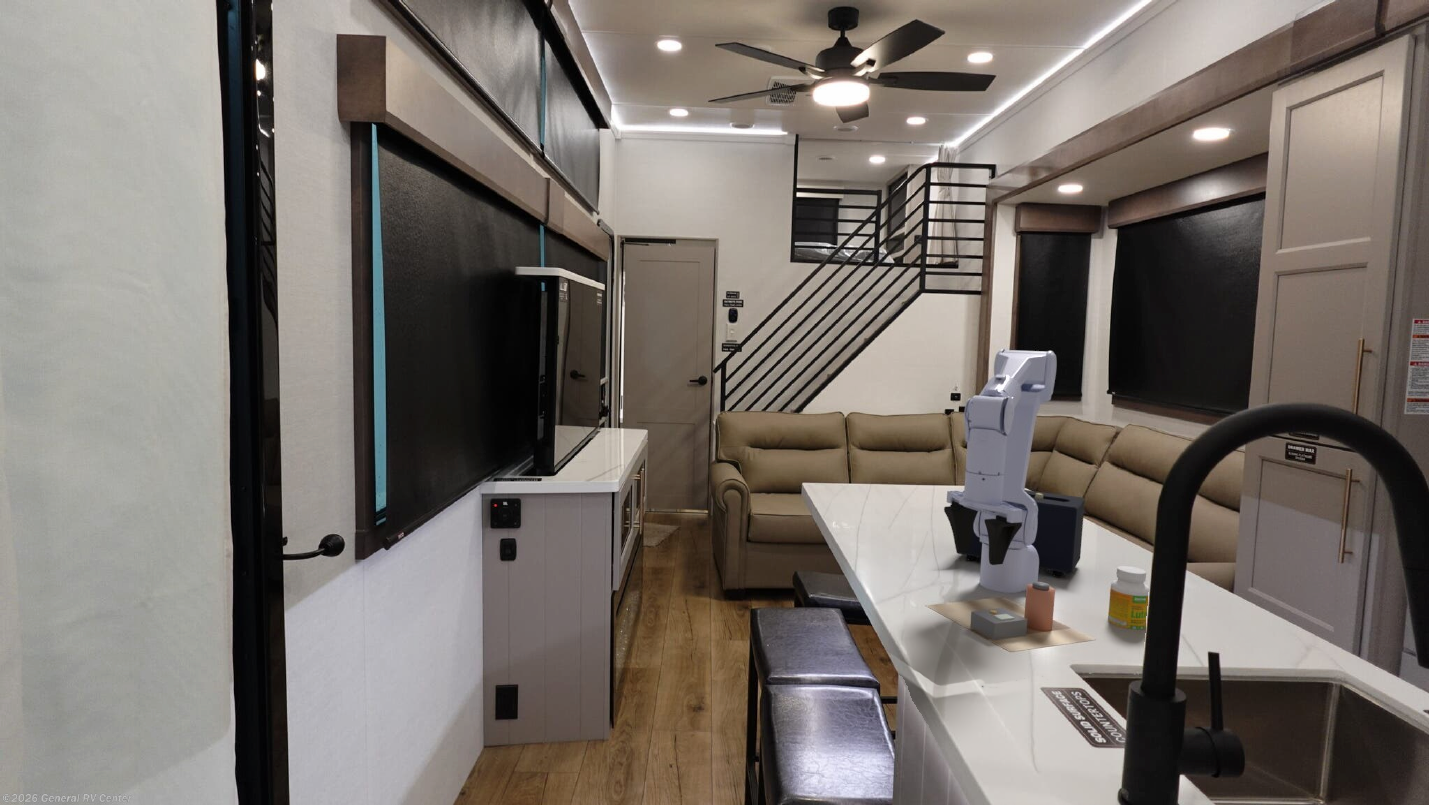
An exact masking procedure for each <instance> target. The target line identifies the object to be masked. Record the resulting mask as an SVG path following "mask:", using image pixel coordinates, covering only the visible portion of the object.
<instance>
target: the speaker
mask: <svg viewBox="0 0 1429 805" xmlns="http://www.w3.org/2000/svg"><path fill="white" fill-rule="evenodd" d="M1024 491H1025V492H1026V493H1027V494H1028V495H1029V496H1030V497H1031V498H1033V499H1034V501H1035V502H1036V504H1037V506H1038V516H1037V518H1038V524H1037V533H1036V537H1035V541H1034V542H1033V543H1032V544H1031V545H1032V546H1033V547H1034V548H1035V549H1036V551H1037V553H1038V557H1039V569H1041V570H1047V571H1051V574H1052V576H1054V577H1057V578H1060V577H1063V576H1064V574H1068V575H1071V574H1072V573H1073V572H1074V571H1075V569H1076V567H1077V564H1078V563H1079V561H1080V560H1081V552H1082V539H1083V528H1084V515H1085V502H1086V498H1084V497H1081V496H1074V495H1066V494H1058V493H1050V492H1044V491H1036V490H1027V489H1024ZM962 492H964V490H963V491H962ZM955 552H956V554H959V555H964V556H966V558H967V561H970V562H976V561H977V558H979V559H981V555H982V542H980V537H977V535H976V534H975V532H974V524H973V528H972V535H971V543H970V547H969V551H957V550H956V549H955Z"/></svg>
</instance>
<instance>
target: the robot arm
mask: <svg viewBox="0 0 1429 805" xmlns="http://www.w3.org/2000/svg"><path fill="white" fill-rule="evenodd" d="M1057 362H1058V361H1057V355H1056V354H1055V352H1054V351H1053V350H1047V351H1039V350H1036V351H1035V350H1016V349H1014V350H1012V349H1011V350H1010V349H1009V350H1008V349H1005V348H1004V349H1003V348H1001V349H1000V350H998V351H997V353H996V354H995V357H994V362H993V377H991V378H990V379H989V380H988V381H987V383H986V384H985V385H984V387H983V389H982V390H981V391H980V393H979V395H973V396H972V398H971V397H970V398H968V399H967V400H966V402H965V406H964V413H963V424H964V429H965V431H964V441H965V442H966V444H967V445H966V446H967V447H966V458H965V461H966V463H965V474H964V475H965V476H964V487H963V488H964V489H963V491H964V492H963V491H961V490H960V491H959V490H947V493H946V503H947V504H950V505H949V506H944V507H943V512H944V513H945V515H946V517H947V519H948V521H949V524H950V527H951V528H950V529H951V532H952V535H953V541H954V547H955V551H956V550H957V551H969V547H970V543H971V535H972V528H973V524H974V532H975V534H976V535H977V537H980V542H982V555H981V558H980V571H979V572H980V573H979V585H980V586H981V587H983V588H985V589H987V590H990V591H993V592H998V593H1008V594H1010V593H1011V594H1013V593H1015V594H1016V593H1020V592H1023V591H1026V587H1027V585H1028V584H1032V583H1033V582H1039V581H1038V580H1039V569H1040V568H1039V557H1038V553H1037V551H1036V549H1035V548H1034V547H1033V546H1032V545H1031V544H1032V543H1033V542H1034V541H1035V537H1036V533H1037V524H1038V518H1037V516H1038V506H1037V504H1036V502H1035V501H1034V499H1033V498H1031V497H1030V496H1029V495H1028V494H1027V493H1026V492H1025V491H1024V490H1026V489H1025V488H1026V482H1027V475H1028V471H1029V464H1030V457H1031V452H1032V451H1031V450H1032V446H1033V445H1032V444H1033V438H1034V433H1035V432H1034V431H1035V428H1036V420H1037V416H1038V414H1039V410H1040V407H1041V405H1043V404H1044V403H1047V402H1049V401H1051V400H1052V395H1053V393H1054V387H1055V383H1056V382H1055V380H1056V377H1057V376H1056V375H1057Z"/></svg>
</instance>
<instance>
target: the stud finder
mask: <svg viewBox="0 0 1429 805" xmlns="http://www.w3.org/2000/svg"><path fill="white" fill-rule="evenodd" d="M970 628H972V629H974V630H976V631H977V632H979V633H981V634H983V635H985V636H987V637H989V638H990V639H992V640H1000V639H1007V638H1015V637H1022V636H1026V631H1027V619H1025V618H1023V617H1021V616H1019V615H1017V614H1015V613H1013V612H1011V611H1009V610H1007V609H1004V608H997V609H988V610H980V611H971V624H970Z"/></svg>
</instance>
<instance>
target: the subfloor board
mask: <svg viewBox="0 0 1429 805" xmlns="http://www.w3.org/2000/svg"><path fill="white" fill-rule="evenodd" d="M925 607H927V608H929V609H930V610H933V611H934V612H936V613H938V614H939V615H941V616H943V617H945V618H946V619H949V620H951V621H953V622H954V623H956V624H958V625H959V626H961V627H963V628H966V629H967V630H968V631H971V632H972V633H974V634H976V635H977V636H979V637H982V638H984V639H985V640H987V641H989V642H991V643H993V644H994V645H997V646H998V647H1000V648H1002V649H1003V650H1005V651H1007V652H1009V653H1014V652H1022V651H1028V650H1035V649H1042V648H1048V647H1049V648H1050V647H1058V646H1063V645H1064V646H1065V645H1071V644H1077V643H1082V642H1083V643H1084V642H1085V643H1086V642H1091V641H1097V639H1095V638H1093V637H1092V636H1089V635H1087V634H1086V633H1082V632H1080V631H1078V630H1076V629H1074V628H1072V627H1070V626H1067V625H1065V624H1063V623H1061V622H1059V621H1056V620H1054V619H1053V624H1052V630H1051V631H1045V632H1044V631H1036V630H1032V629H1029V628H1027V631H1026V636H1022V637H1015V638H1007V639H1000V640H992V639H990V638H989V637H987V636H985V635H983V634H981V633H979V632H977V631H976V630H974V629H972V628H970V624H971V611H980V610H988V609H997V608H1004V609H1007V610H1009V611H1011V612H1013V613H1015V614H1017V615H1019V616H1021V617H1023V618H1024V614H1025V605H1022V604H1019V603H1017V602H1016V601H1013V600H1011V599H1009V598H1006V597H1004V596H1001V597H1000V596H999V597H992V598H991V597H990V598H982V599H981V598H980V599H971V600H964V601H963V600H961V601H954V602H946V603H937V604H935V603H934V604H928V605H927V604H926V605H925Z"/></svg>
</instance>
